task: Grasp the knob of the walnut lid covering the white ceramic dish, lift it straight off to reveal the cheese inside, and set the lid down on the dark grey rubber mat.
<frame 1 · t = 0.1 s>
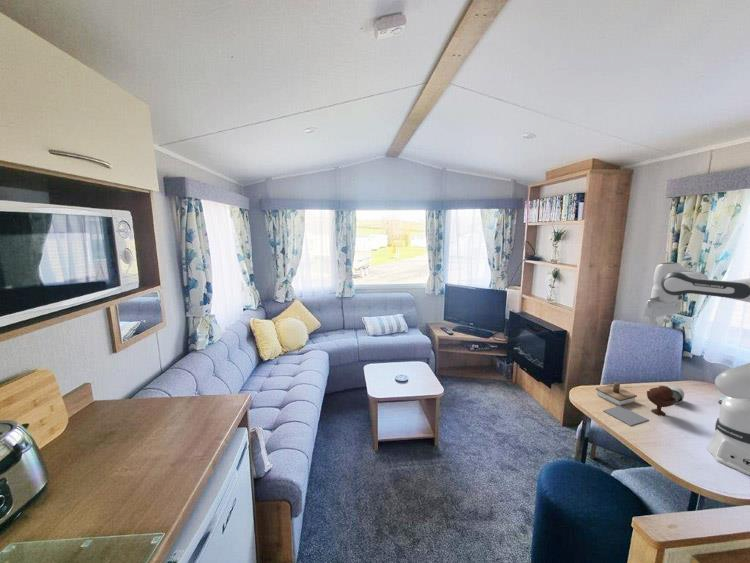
hand: (659, 324, 147), 48 cm above the table, fingers open, 8 cm apart
mat: (625, 415, 154), on the table
dish: (615, 398, 170), on the table
lid: (615, 393, 170), point 3 cm above the table, touching dish
ice cream bowl: (658, 413, 156), on the table
ceramic mug: (669, 400, 168), on the table
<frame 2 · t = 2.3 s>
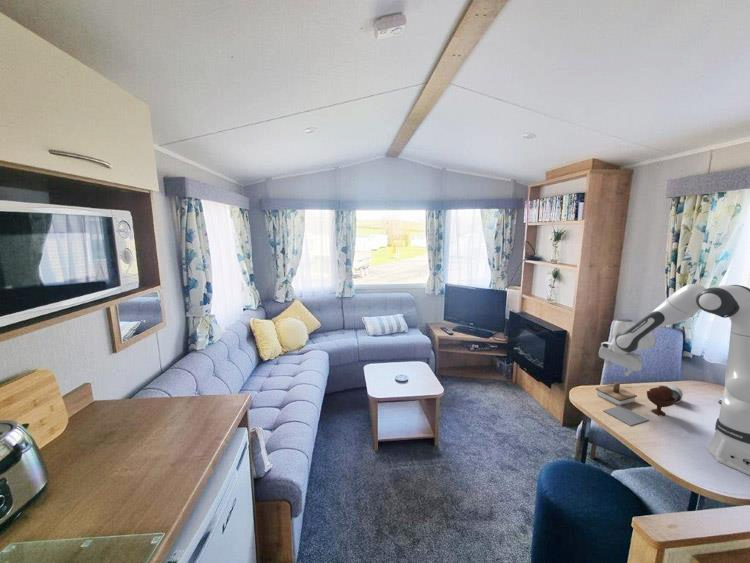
hand: (617, 371, 168), 16 cm above the table, fingers open, 8 cm apart
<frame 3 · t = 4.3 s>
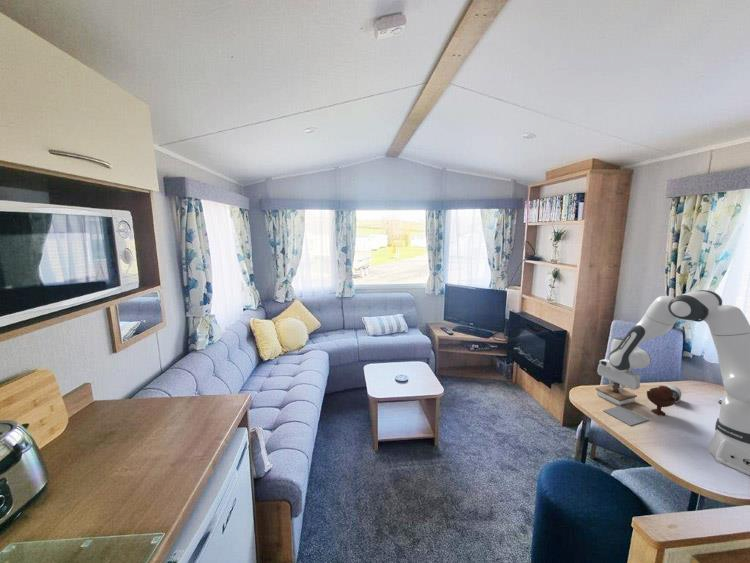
hand: (616, 389, 169), 5 cm above the table, fingers closed on lid, 3 cm apart
lid: (615, 393, 170), point 3 cm above the table, touching dish, gripper
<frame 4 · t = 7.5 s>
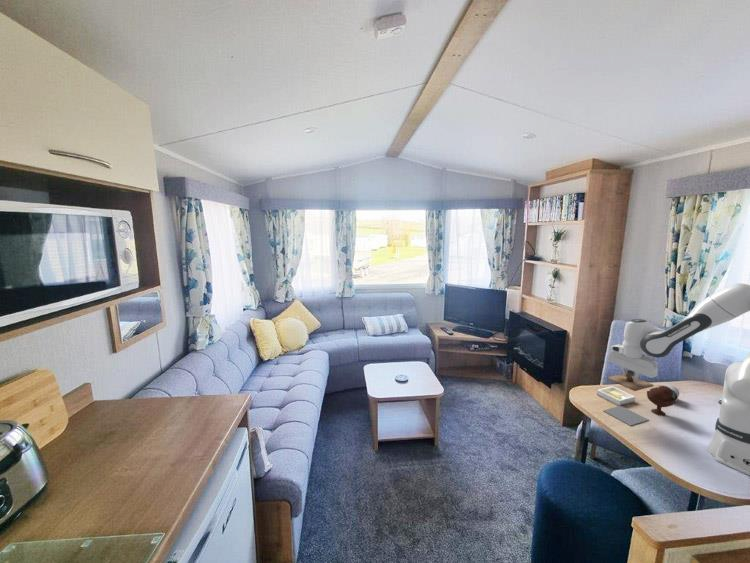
hand: (630, 377, 151), 21 cm above the table, fingers closed on lid, 3 cm apart
lid: (629, 382, 151), point 18 cm above the table, touching gripper
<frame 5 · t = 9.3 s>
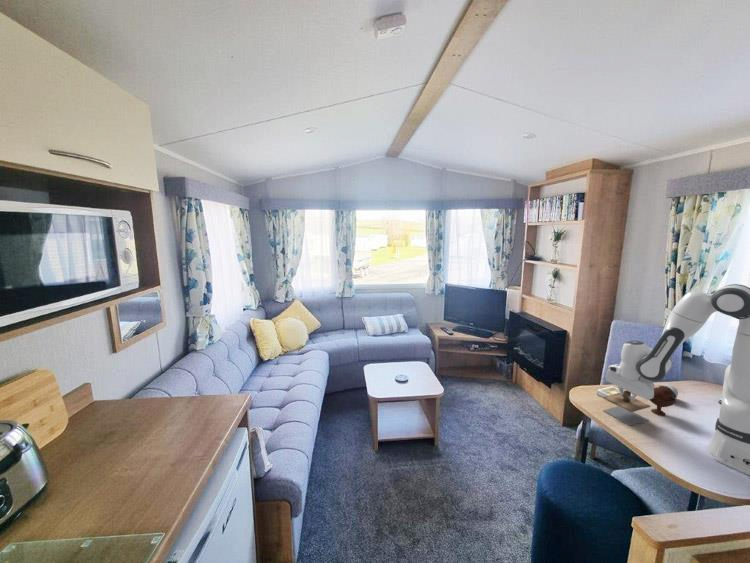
hand: (626, 398, 153), 10 cm above the table, fingers closed on lid, 3 cm apart
lid: (626, 402, 153), point 7 cm above the table, touching gripper
when the fingers open (4 cm above the table, at t = 11.0 s): lid drops 2 cm, resting on mat.
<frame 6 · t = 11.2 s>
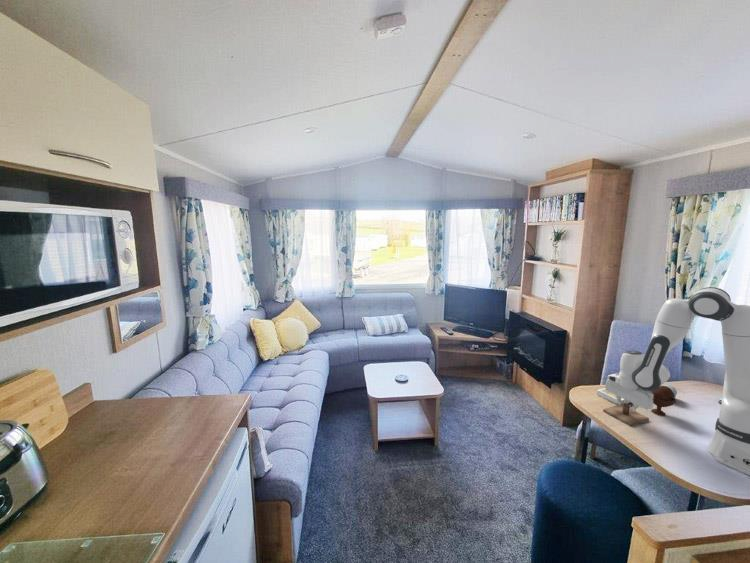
hand: (626, 407, 154), 4 cm above the table, fingers open, 5 cm apart
lid: (625, 415, 154), resting on mat
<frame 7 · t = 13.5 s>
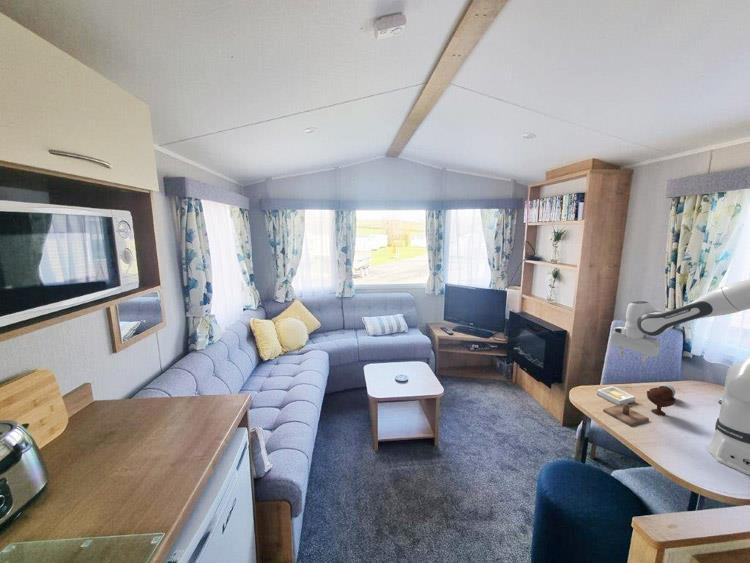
hand: (632, 358, 156), 28 cm above the table, fingers open, 8 cm apart
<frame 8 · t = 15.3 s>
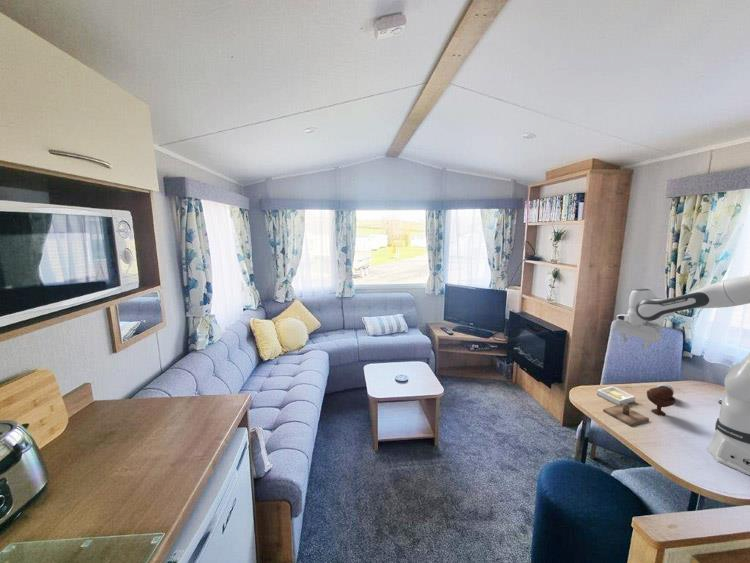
hand: (634, 344, 161), 33 cm above the table, fingers open, 8 cm apart
at the end: lid inside the target area on the mat (0.1 cm from its centre), point 0.4 cm above the mat's base; lid touching mat; the gripper is holding nothing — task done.
